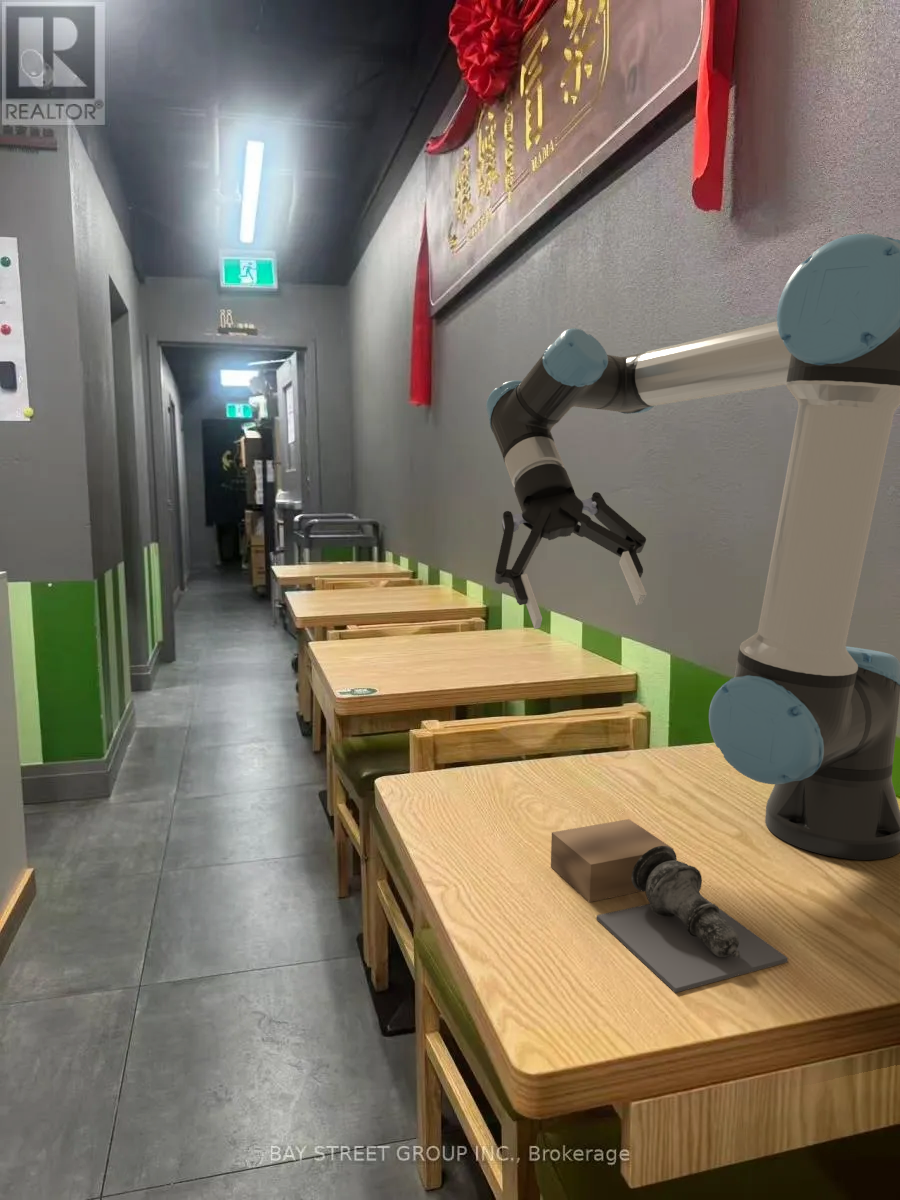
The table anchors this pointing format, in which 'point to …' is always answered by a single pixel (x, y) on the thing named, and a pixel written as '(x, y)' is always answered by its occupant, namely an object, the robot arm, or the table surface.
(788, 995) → the table surface
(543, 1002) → the table surface
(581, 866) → the ledge block
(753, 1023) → the table surface
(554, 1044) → the table surface
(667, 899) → the salt shaker
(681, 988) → the mat
